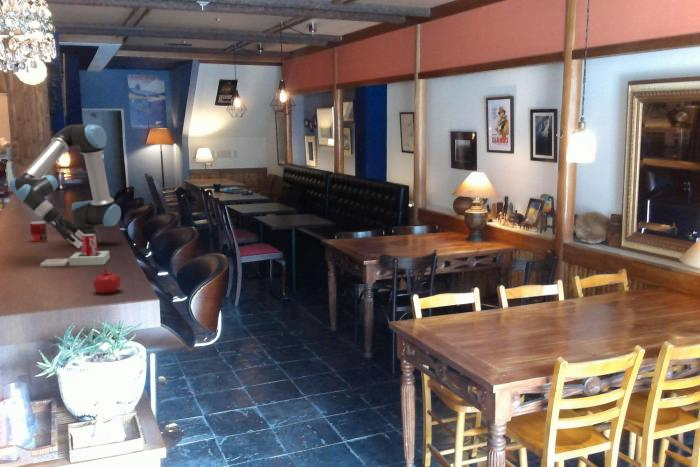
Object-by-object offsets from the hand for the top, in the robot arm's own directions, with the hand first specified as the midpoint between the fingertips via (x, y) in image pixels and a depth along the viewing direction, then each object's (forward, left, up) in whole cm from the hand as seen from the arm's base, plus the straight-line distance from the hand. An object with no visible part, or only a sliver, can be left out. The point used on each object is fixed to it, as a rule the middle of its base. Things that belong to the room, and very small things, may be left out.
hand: (84, 243), depth 299 cm
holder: (-1, +2, -9) cm, 9 cm away
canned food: (-60, -36, -9) cm, 71 cm away
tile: (+1, -13, -9) cm, 16 cm away
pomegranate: (+58, +20, -9) cm, 62 cm away
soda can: (-1, +2, -9) cm, 9 cm away
